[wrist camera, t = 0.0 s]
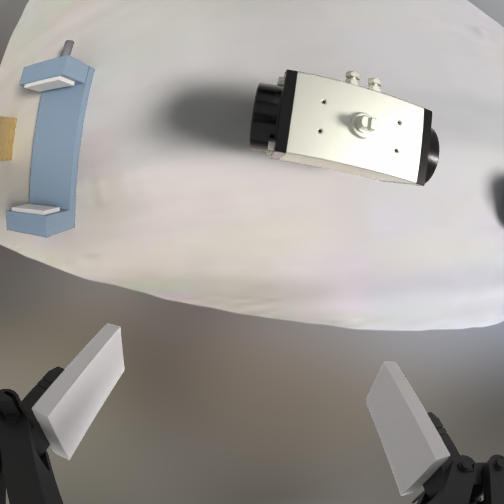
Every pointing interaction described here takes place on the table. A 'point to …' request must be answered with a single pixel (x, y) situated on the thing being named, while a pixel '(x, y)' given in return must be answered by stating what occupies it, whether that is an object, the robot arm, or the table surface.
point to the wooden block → (7, 137)
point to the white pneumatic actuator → (344, 128)
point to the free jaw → (55, 72)
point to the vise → (54, 163)
